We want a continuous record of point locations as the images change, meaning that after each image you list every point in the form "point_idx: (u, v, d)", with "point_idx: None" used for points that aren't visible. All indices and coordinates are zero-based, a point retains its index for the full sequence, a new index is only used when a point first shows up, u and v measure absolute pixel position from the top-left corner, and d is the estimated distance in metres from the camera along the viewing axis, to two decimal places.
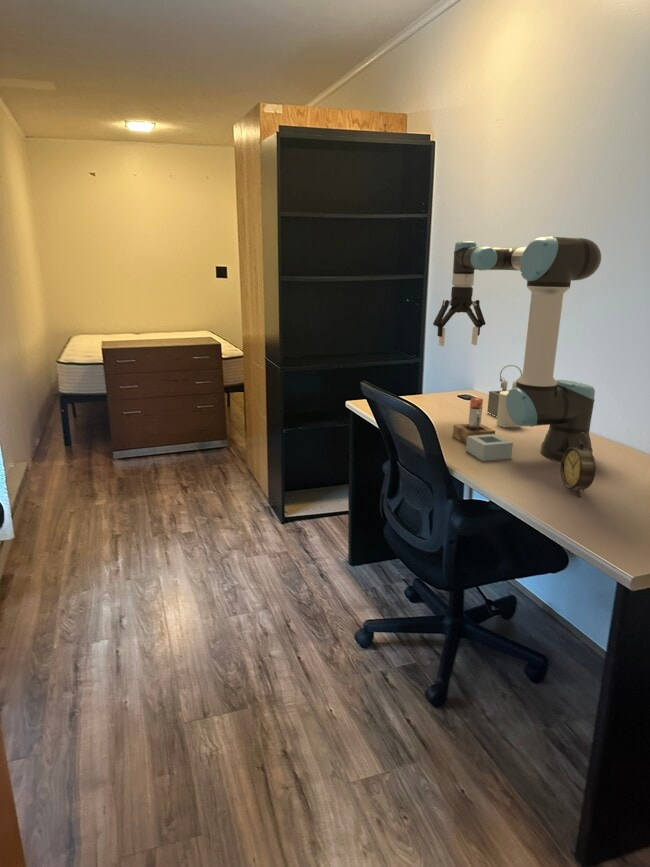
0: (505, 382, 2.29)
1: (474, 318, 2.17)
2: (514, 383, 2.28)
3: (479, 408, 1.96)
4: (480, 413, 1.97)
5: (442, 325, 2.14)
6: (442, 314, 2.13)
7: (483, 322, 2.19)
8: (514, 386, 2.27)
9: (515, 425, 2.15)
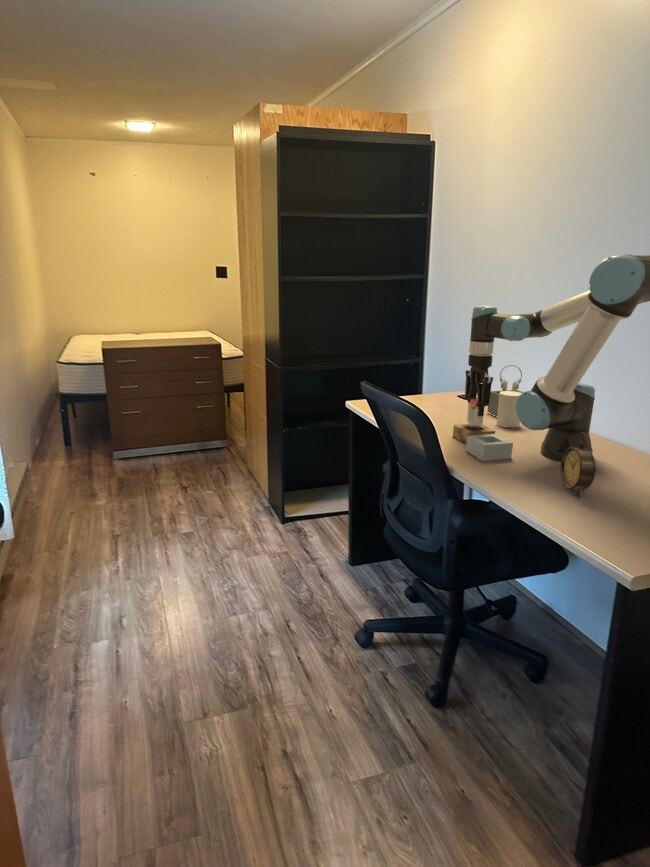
0: (505, 382, 2.29)
1: (478, 394, 1.94)
2: (514, 383, 2.28)
3: None
4: None
5: (468, 399, 2.00)
6: (466, 386, 2.01)
7: (481, 402, 1.92)
8: (514, 386, 2.27)
9: (515, 425, 2.15)
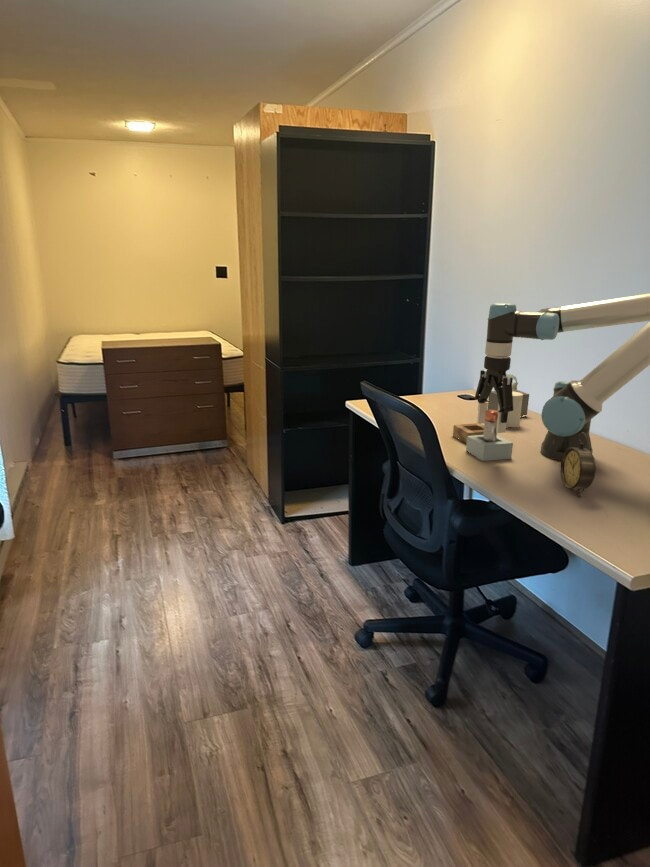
0: None
1: (498, 399, 1.75)
2: None
3: (495, 421, 1.80)
4: (496, 427, 1.81)
5: (478, 399, 1.86)
6: (478, 386, 1.86)
7: (504, 407, 1.73)
8: None
9: (515, 425, 2.15)
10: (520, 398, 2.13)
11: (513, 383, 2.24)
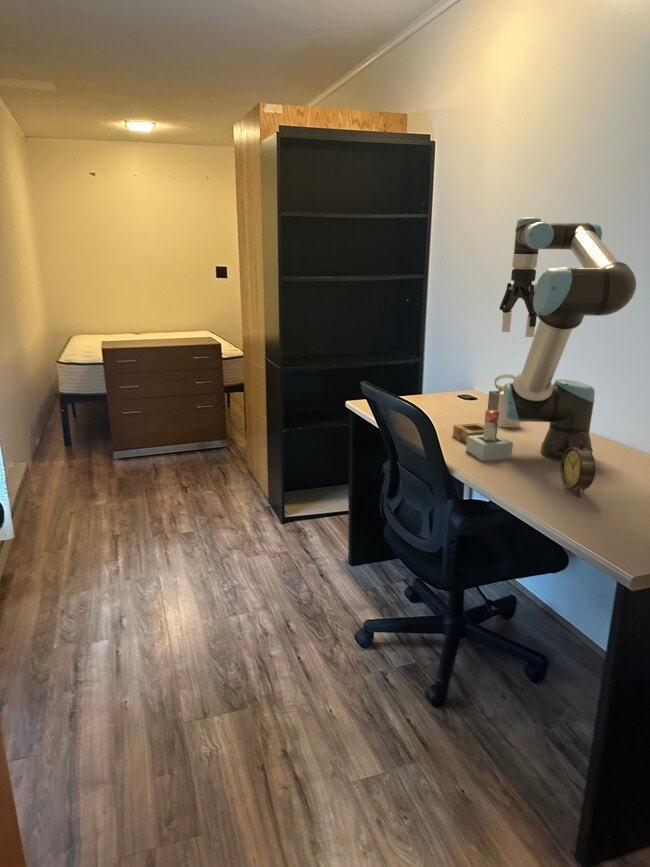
0: (502, 389, 2.25)
1: (527, 305, 1.90)
2: None
3: (495, 421, 1.80)
4: (496, 427, 1.81)
5: (503, 309, 2.02)
6: (504, 298, 2.02)
7: (533, 311, 1.87)
8: None
9: (515, 425, 2.15)
10: None
11: None
